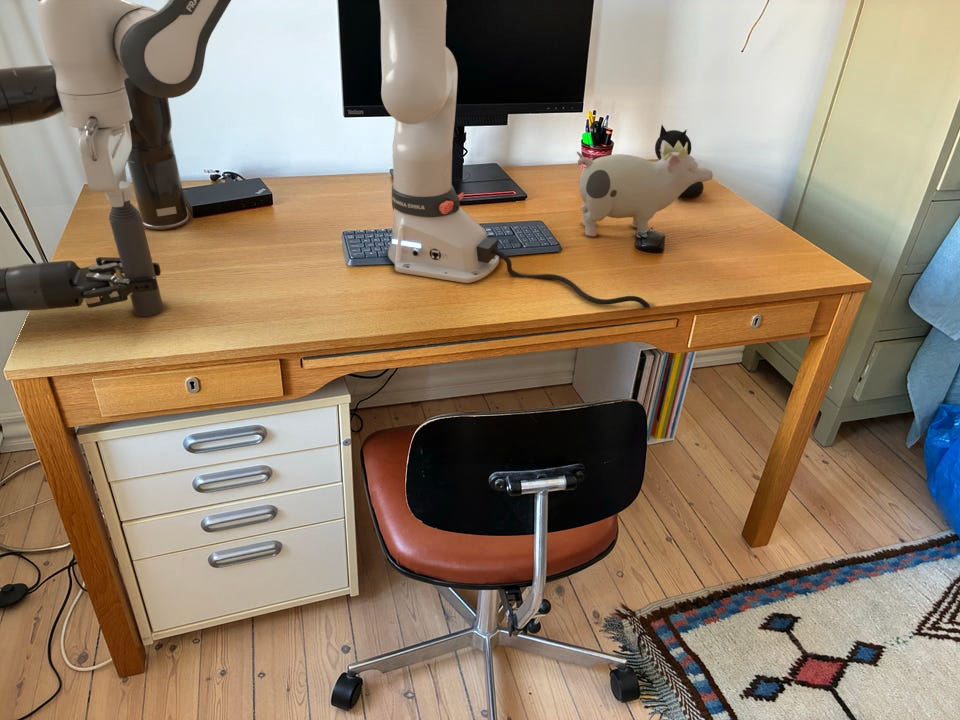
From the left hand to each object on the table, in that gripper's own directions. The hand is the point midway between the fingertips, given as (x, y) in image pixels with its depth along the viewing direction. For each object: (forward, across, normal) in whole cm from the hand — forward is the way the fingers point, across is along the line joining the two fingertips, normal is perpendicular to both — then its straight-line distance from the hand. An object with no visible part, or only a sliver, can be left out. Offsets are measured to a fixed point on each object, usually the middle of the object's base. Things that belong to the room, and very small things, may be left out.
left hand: (157, 275), depth 120 cm
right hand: (-3, 0, -14) cm, 14 cm away
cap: (-3, 0, -16) cm, 16 cm away
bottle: (-3, 0, +6) cm, 7 cm away
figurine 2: (+118, +35, +6) cm, 123 cm away
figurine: (+95, +13, +6) cm, 96 cm away
